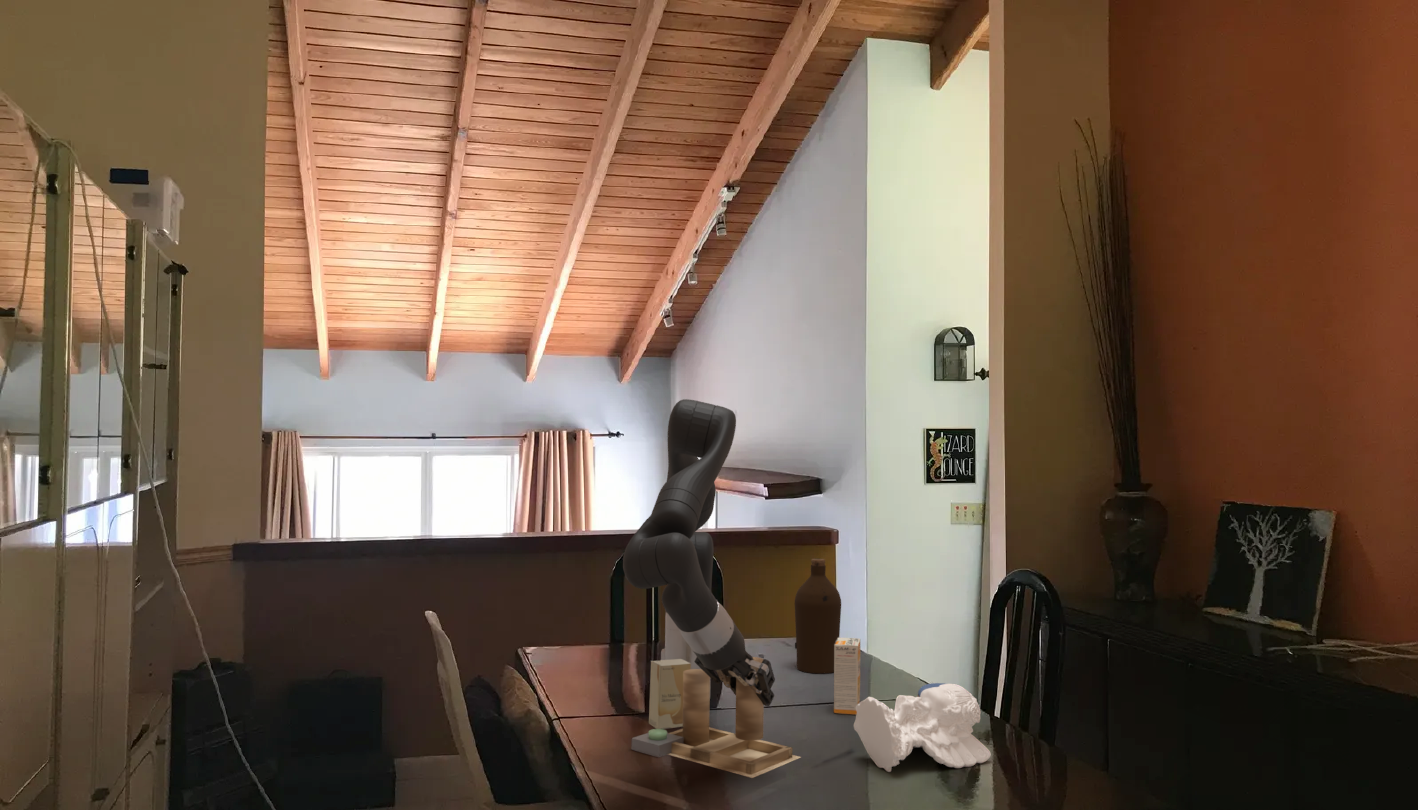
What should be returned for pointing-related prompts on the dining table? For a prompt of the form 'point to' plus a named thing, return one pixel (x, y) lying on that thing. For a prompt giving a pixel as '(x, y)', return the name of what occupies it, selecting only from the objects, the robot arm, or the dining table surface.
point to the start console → (655, 742)
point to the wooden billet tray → (734, 753)
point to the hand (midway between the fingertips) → (756, 698)
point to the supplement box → (846, 675)
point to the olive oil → (817, 621)
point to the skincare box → (667, 693)
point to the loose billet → (748, 711)
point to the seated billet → (696, 707)
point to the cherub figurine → (922, 727)
